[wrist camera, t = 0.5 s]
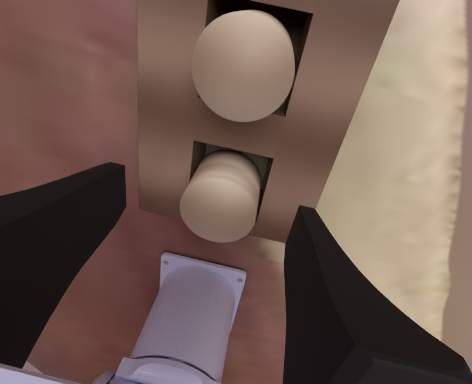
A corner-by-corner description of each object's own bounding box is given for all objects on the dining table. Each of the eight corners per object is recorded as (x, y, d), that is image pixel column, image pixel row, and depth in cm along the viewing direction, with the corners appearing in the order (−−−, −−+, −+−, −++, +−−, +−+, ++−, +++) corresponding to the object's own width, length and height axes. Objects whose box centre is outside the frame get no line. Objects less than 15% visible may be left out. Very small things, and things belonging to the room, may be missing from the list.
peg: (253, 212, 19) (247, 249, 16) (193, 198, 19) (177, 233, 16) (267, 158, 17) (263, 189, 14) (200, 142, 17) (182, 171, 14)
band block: (298, 211, 23) (300, 246, 20) (160, 179, 23) (139, 209, 20) (376, -3, 15) (401, -5, 12) (169, -45, 16) (136, -59, 12)
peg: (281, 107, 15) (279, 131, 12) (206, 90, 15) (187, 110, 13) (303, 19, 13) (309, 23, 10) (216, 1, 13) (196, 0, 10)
